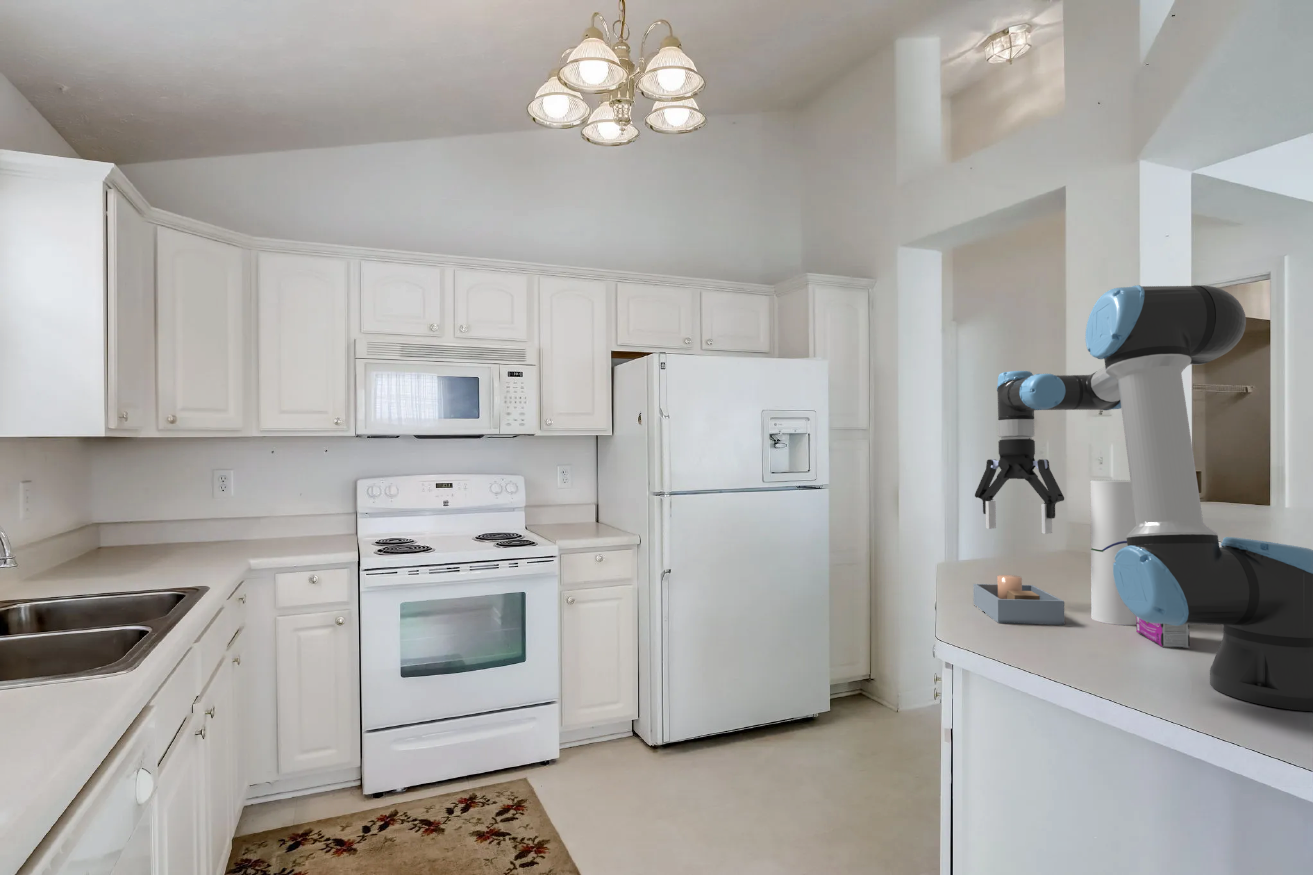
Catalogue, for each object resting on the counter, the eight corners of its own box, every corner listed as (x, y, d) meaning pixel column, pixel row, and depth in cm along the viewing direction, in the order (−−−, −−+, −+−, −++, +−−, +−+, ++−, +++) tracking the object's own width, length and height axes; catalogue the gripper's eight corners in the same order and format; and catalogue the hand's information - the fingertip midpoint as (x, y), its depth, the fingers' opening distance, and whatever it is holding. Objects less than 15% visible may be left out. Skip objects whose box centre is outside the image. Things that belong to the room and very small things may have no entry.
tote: (1064, 624, 151) (1064, 601, 151) (998, 623, 153) (998, 599, 153) (1032, 606, 168) (1032, 585, 168) (973, 605, 170) (973, 583, 170)
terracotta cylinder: (1011, 604, 168) (1010, 574, 168) (1027, 609, 163) (1026, 577, 163) (993, 605, 167) (992, 575, 167) (1008, 610, 162) (1007, 579, 162)
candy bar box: (1134, 632, 145) (1133, 550, 145) (1161, 633, 144) (1161, 551, 144) (1161, 648, 134) (1160, 559, 134) (1191, 649, 133) (1190, 560, 133)
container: (1148, 625, 151) (1146, 481, 151) (1106, 625, 151) (1105, 481, 151) (1122, 615, 159) (1121, 479, 160) (1083, 615, 160) (1082, 479, 160)
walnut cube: (1031, 613, 159) (1031, 591, 159) (1039, 619, 154) (1039, 595, 154) (1007, 613, 159) (1007, 590, 160) (1014, 618, 155) (1014, 595, 155)
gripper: (1080, 437, 158) (1082, 534, 157) (977, 440, 179) (979, 525, 179) (1061, 436, 154) (1063, 536, 153) (958, 439, 175) (960, 527, 175)
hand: (1018, 530), depth 166 cm, fingers open, 13 cm apart
